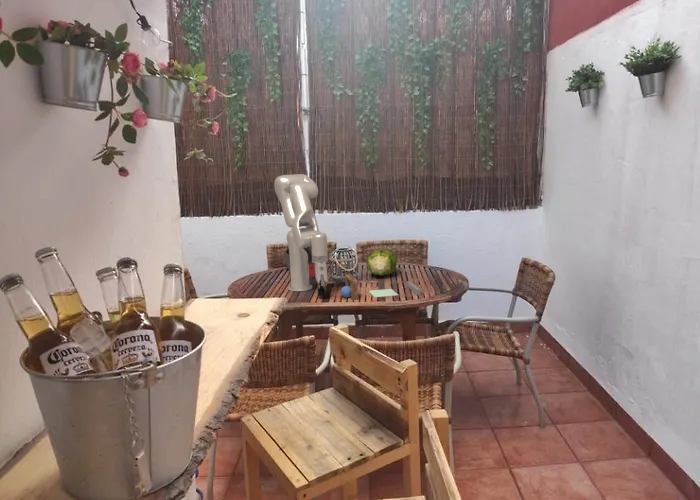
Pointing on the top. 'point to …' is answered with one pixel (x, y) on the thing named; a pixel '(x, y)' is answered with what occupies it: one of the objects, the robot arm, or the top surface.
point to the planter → (287, 256)
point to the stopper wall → (414, 288)
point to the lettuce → (382, 262)
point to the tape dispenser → (311, 270)
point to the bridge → (352, 286)
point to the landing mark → (383, 293)
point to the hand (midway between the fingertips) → (321, 295)
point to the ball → (346, 291)
